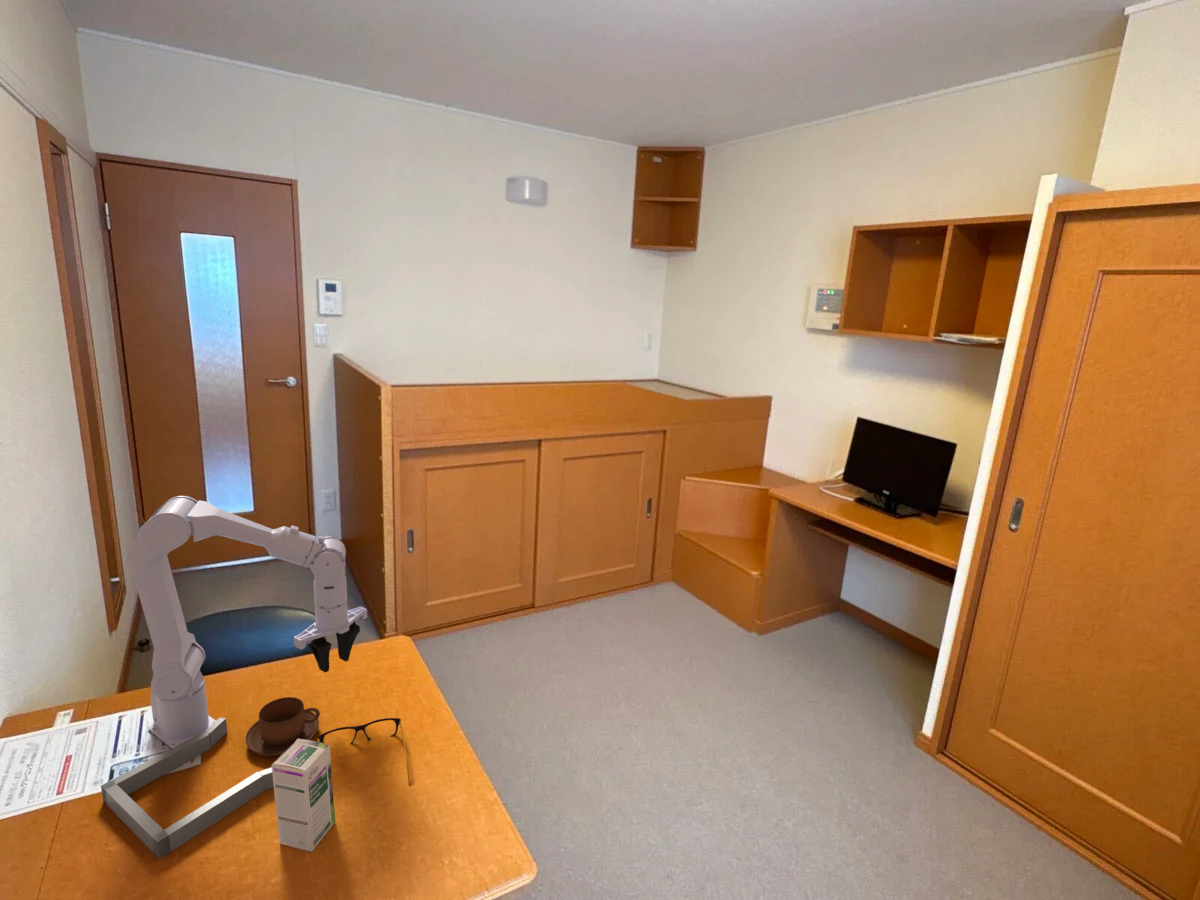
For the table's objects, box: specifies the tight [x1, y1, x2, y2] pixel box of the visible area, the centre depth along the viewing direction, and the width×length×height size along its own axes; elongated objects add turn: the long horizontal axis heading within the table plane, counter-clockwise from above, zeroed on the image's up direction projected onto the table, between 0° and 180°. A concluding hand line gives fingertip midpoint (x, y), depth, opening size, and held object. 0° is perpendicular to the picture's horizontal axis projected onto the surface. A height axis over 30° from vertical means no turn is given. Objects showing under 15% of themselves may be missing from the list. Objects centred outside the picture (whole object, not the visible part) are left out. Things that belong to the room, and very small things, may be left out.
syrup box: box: [271, 738, 336, 853], centre depth 93 cm, size 6×6×14 cm
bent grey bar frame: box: [100, 717, 274, 860], centre depth 101 cm, size 21×19×3 cm
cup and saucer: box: [245, 696, 321, 757], centre depth 113 cm, size 12×12×6 cm
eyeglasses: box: [317, 717, 411, 786], centre depth 108 cm, size 14×14×4 cm
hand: (334, 664), depth 121 cm, fingers open, 4 cm apart
